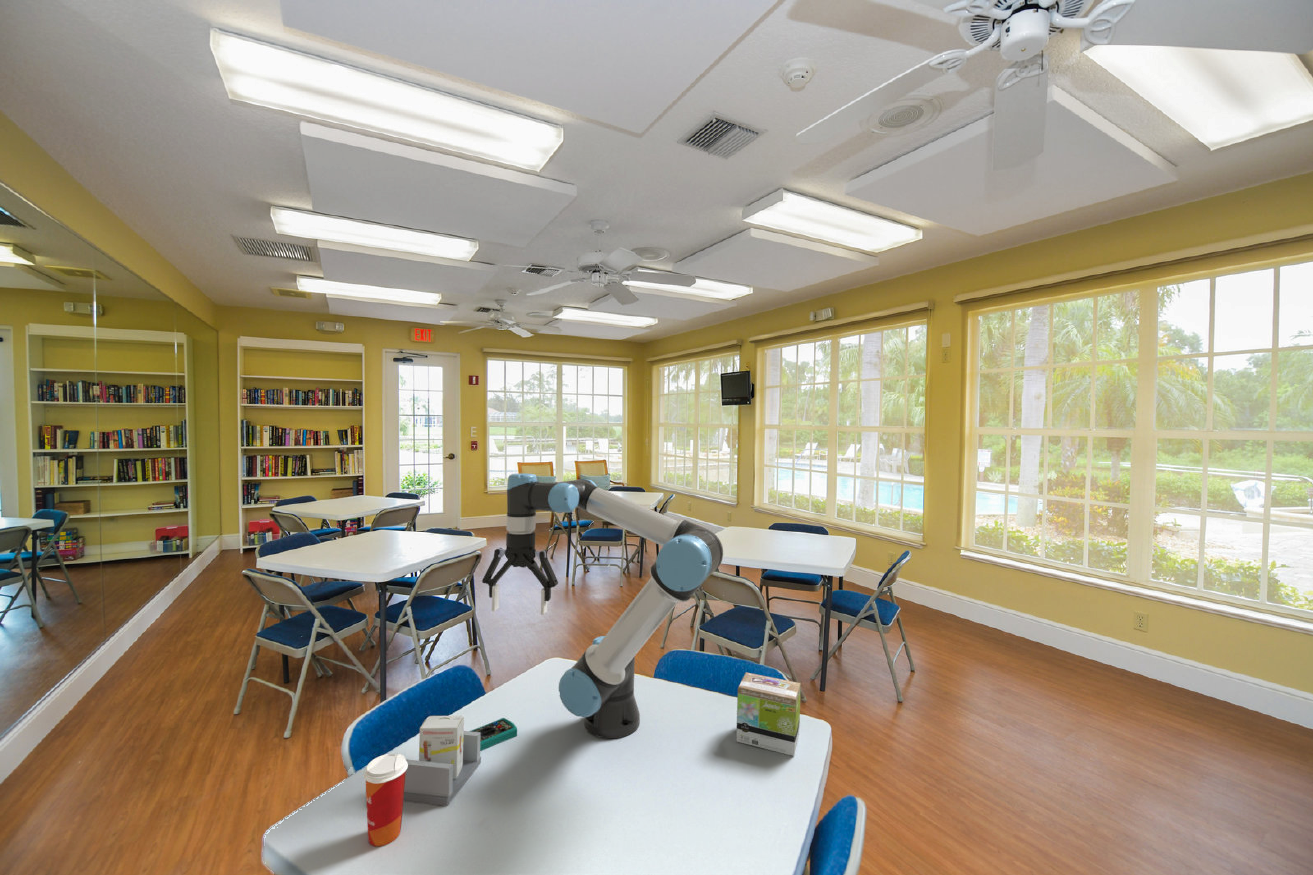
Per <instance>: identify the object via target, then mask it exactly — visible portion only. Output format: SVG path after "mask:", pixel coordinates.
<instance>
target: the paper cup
mask: <svg viewBox="0 0 1313 875" xmlns="http://www.w3.org/2000/svg"><path fill="white" fill-rule="evenodd" d="M407 767H408V763H407V761H406V757H405V755H403V754H401V753H398V754H396V753H390V754H387V753H385V754H382V755H380V756H377V757H375V758H374V759H372V760H371V761H370V762H369V763H368V764H367V765H366V768H365V771H364V772H363V780H365V796H366V797H365V799H366V821H367V822H366V824H367V825H366V826H367V838H368V843H369V844H370V846H372V847H384V846H386V845H390V844H391V843H393V842H394V841H395V840H396V839H398V837H399V836H400V835H401V831H402V830H401V829H402V821H403V820H402V819H403V810H404V801H403V799H404V787H405V774H406V770H407Z"/></svg>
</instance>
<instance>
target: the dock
mask: <svg viewBox="0 0 1313 875" xmlns="http://www.w3.org/2000/svg"><path fill="white" fill-rule="evenodd" d="M470 731H471V730H469V731H468V730H464V736H463V766H462V769H461V771H460V773H459V775H458V777H457V779H453V764H444V763H435V762H426V761H419V760H416V759H415V760H414V759H406V758H405V759H406V761H407V763H408V767H407V770H406V774H405V787H404V799H403V802H405V801H406V802H410V803H411V802H413V803H419V804H420V803H421V804H428V805H434V806H435V805H436V806H444V807H445V806H446V807H448V806H449V804H450V803H451V802H452V801H453V800H454V798H455V797H456V795H458V793H460V790H461V789H462V788H463V786H464V785H466V783H467V781H469V779H470V778H471V776H472V775H473V774H474V772H475V771H476V770H477V768H478V767H479V766H481V762H482V756H481V751H480V734H481V733H480V732H470Z"/></svg>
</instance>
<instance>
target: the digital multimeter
mask: <svg viewBox="0 0 1313 875" xmlns="http://www.w3.org/2000/svg"><path fill="white" fill-rule="evenodd" d="M469 731H470V732H480V733H481V734H480V752H481V751H484V750H486V749H488V748H491V747H493V746H495V745H498V744H500V743H503V742H505V741H507V740H511V739H513V738H515V737H517V736H518V728H517V726H516V724H515V723H514V722H512V721H511V720H509V719H508V718H504V717H501V718H500V719H496V720H493V721H492V722H489V723H487V724H485V725H482V726H480V727H479V726H478V727H477V728H474V729H472V730H469Z"/></svg>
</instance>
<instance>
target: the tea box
mask: <svg viewBox="0 0 1313 875" xmlns="http://www.w3.org/2000/svg"><path fill="white" fill-rule="evenodd" d="M801 686H802V685H801V682H796V681H791V680H788V679H781V678H777V677H771V676H766V675H762V674H756V673H750V672H745V673H744V676H743V677H742V679H741V681H740V683H739V685H738V687H737V703H736V704H737V705H736V708H737V709H736V742H737V743H740V744H746V745H750V746H754V747H758V748H762V749H765V750H769V751H773V752H776V753H779V754H780V753H781V754H784V755H787V756H790V755H792V756H791V757H794V756H795V755H796V748H797V745H798V740H799V736H800V724H801V722H800V720H801V717H800V716H801Z"/></svg>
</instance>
